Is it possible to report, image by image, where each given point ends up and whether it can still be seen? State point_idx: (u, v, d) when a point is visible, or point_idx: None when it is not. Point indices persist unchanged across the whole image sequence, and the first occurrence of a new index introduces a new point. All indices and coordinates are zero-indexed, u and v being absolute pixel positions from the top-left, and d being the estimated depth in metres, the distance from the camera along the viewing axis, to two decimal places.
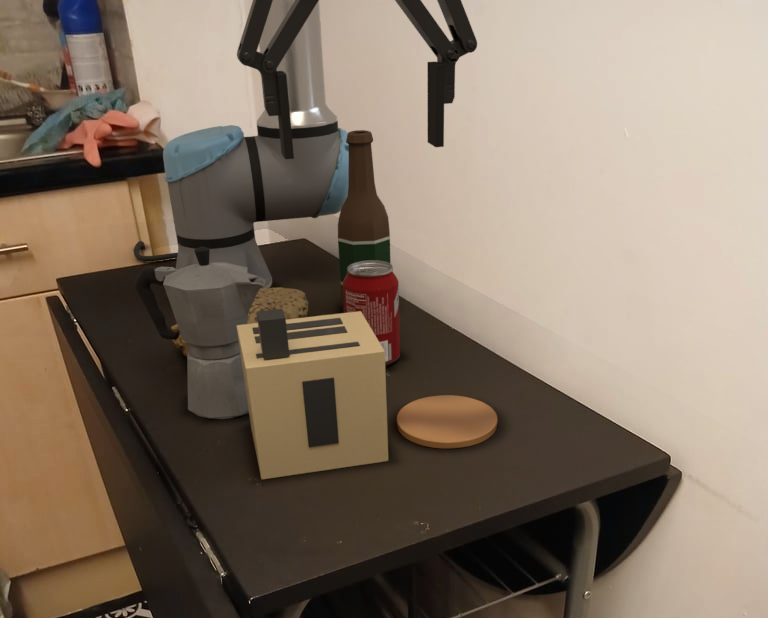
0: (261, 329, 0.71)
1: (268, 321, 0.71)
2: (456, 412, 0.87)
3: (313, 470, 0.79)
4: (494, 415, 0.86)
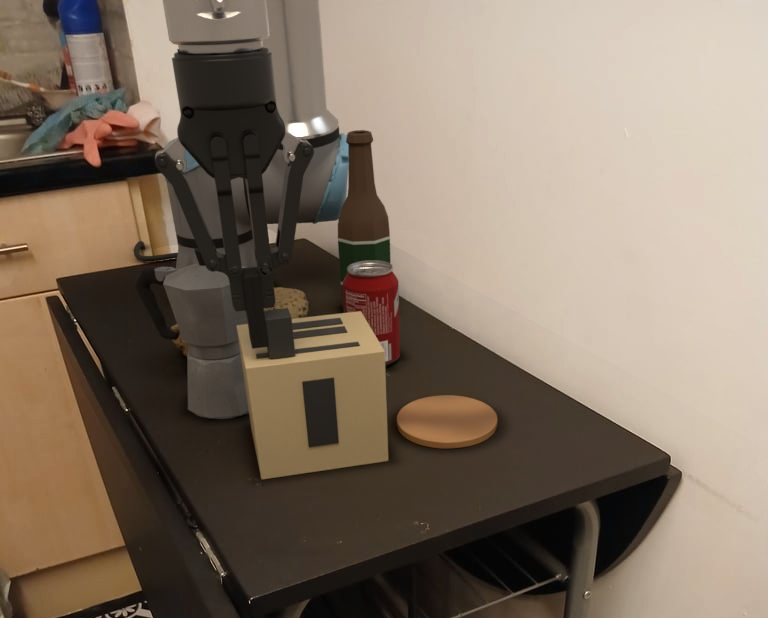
0: (267, 328, 0.71)
1: (274, 320, 0.71)
2: (456, 412, 0.87)
3: (313, 470, 0.79)
4: (494, 415, 0.86)
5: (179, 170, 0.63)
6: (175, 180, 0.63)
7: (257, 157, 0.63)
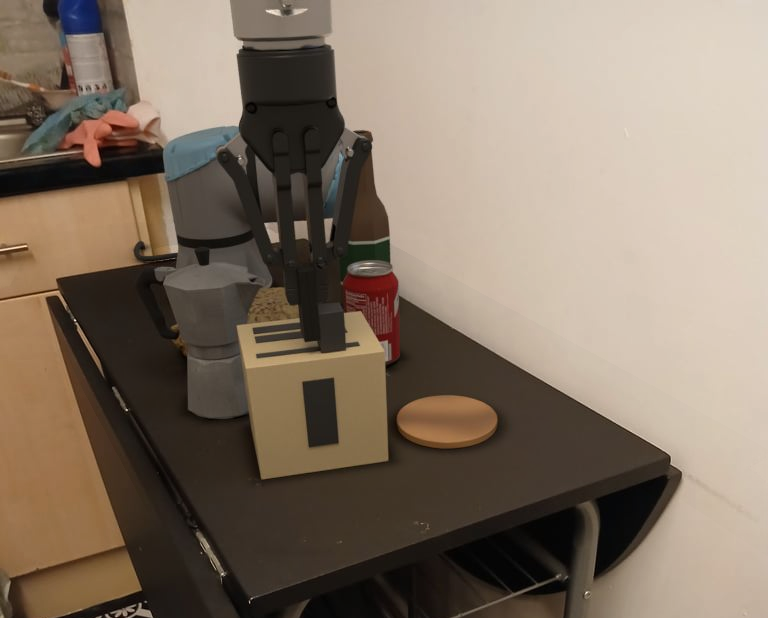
0: (320, 322, 0.72)
1: (327, 314, 0.72)
2: (456, 412, 0.87)
3: (313, 470, 0.79)
4: (494, 415, 0.86)
5: (240, 165, 0.63)
6: (236, 175, 0.64)
7: (317, 152, 0.64)
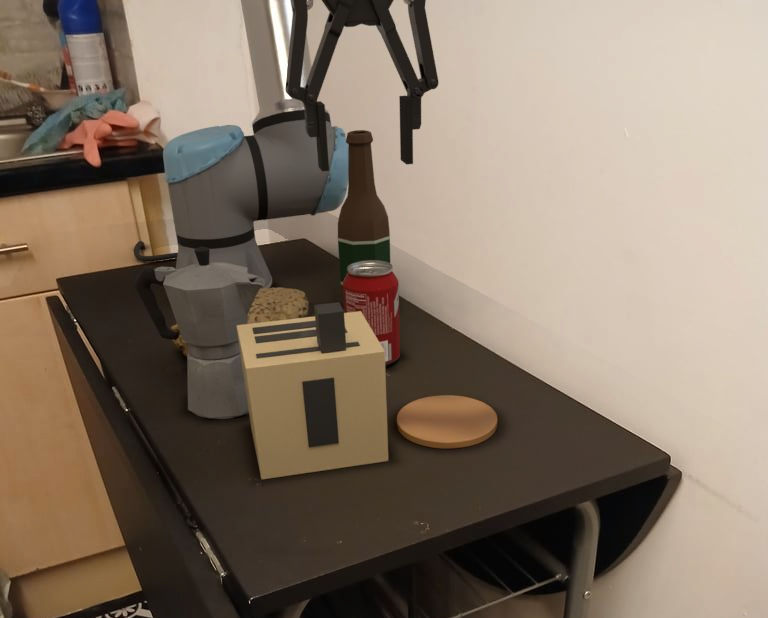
0: (320, 322, 0.72)
1: (327, 314, 0.72)
2: (456, 412, 0.87)
3: (313, 470, 0.79)
4: (494, 415, 0.86)
5: (307, 5, 0.78)
6: (300, 11, 0.78)
7: (378, 5, 0.79)
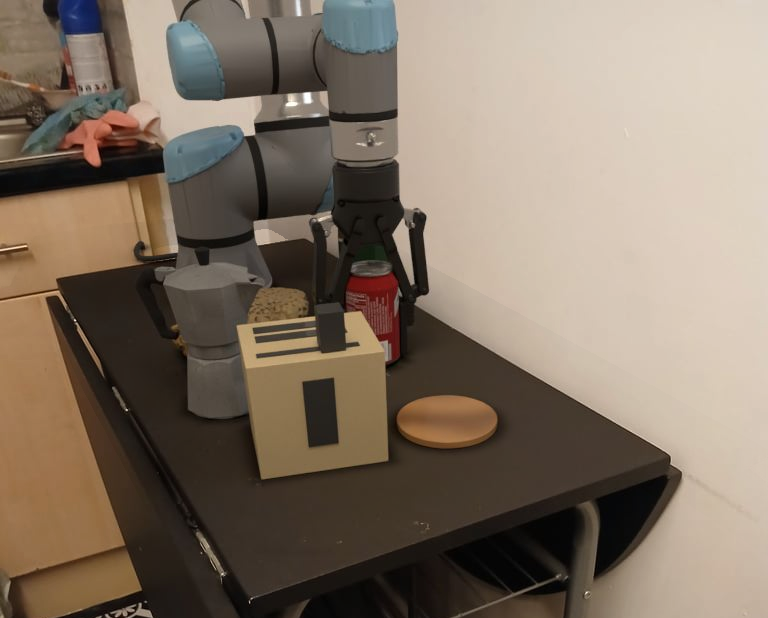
0: (320, 322, 0.72)
1: (327, 314, 0.72)
2: (456, 412, 0.87)
3: (313, 470, 0.79)
4: (494, 415, 0.86)
5: (325, 236, 0.90)
6: (320, 241, 0.90)
7: (385, 232, 0.91)
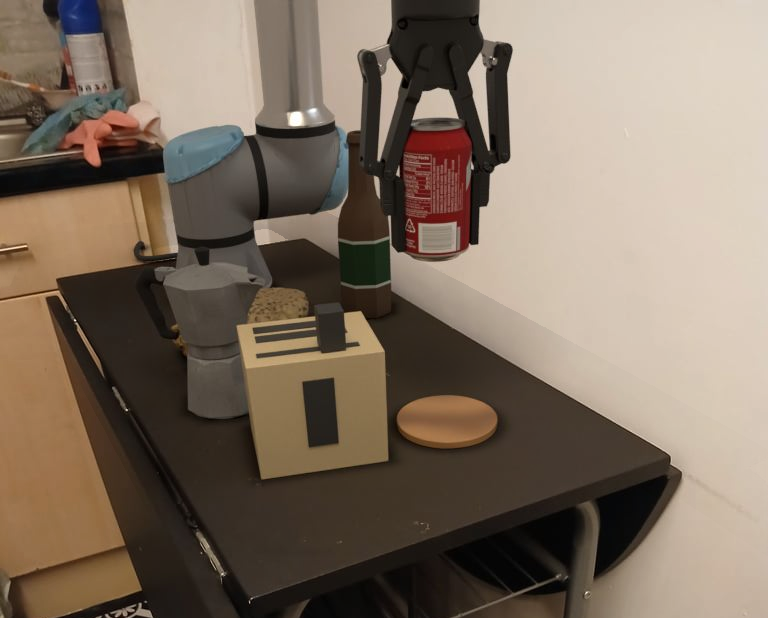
0: (320, 322, 0.72)
1: (327, 314, 0.72)
2: (456, 412, 0.87)
3: (313, 470, 0.79)
4: (494, 415, 0.86)
5: (380, 72, 0.68)
6: (373, 79, 0.68)
7: (459, 68, 0.69)
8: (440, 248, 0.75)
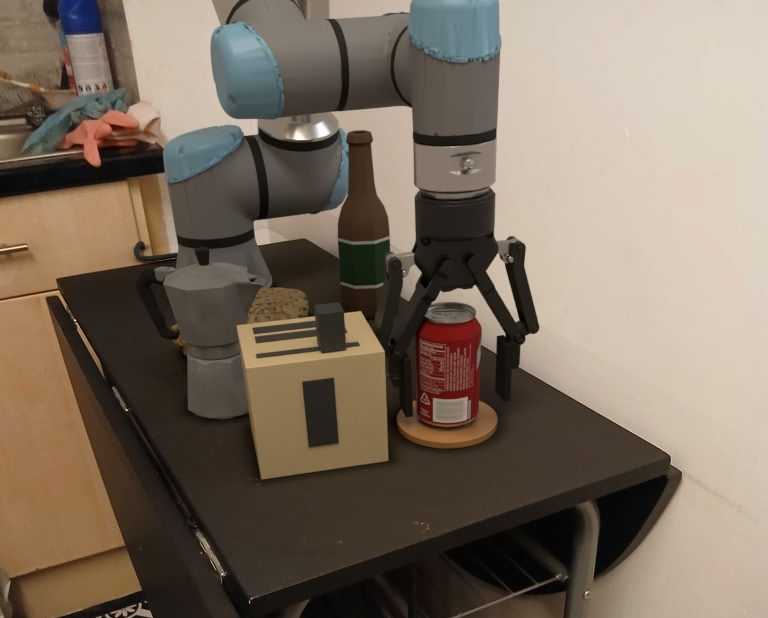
0: (320, 322, 0.72)
1: (327, 314, 0.72)
2: None
3: (313, 470, 0.79)
4: (494, 415, 0.86)
5: (402, 276, 0.75)
6: (395, 281, 0.75)
7: (476, 273, 0.76)
8: (452, 419, 0.83)
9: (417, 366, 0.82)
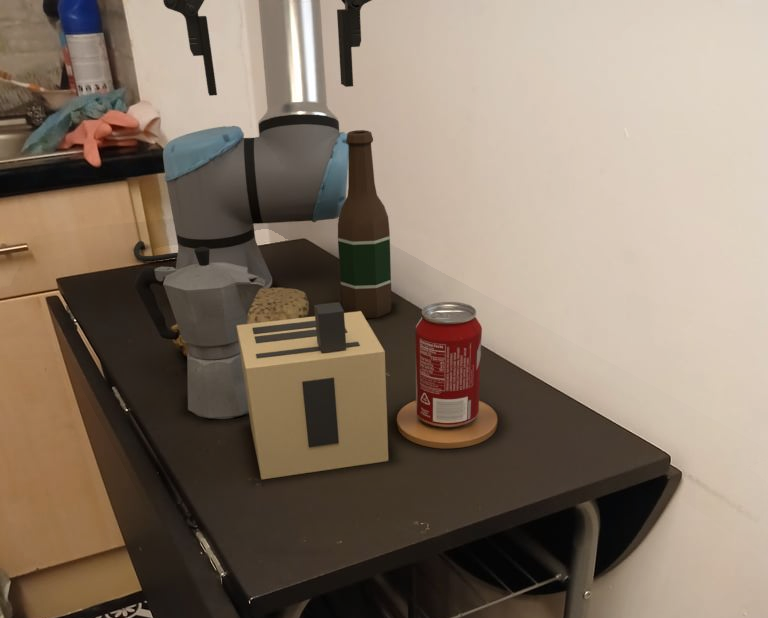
0: (320, 322, 0.72)
1: (327, 314, 0.72)
2: None
3: (313, 470, 0.79)
4: (494, 415, 0.86)
5: None
6: None
7: None
8: (452, 419, 0.83)
9: (417, 366, 0.82)
